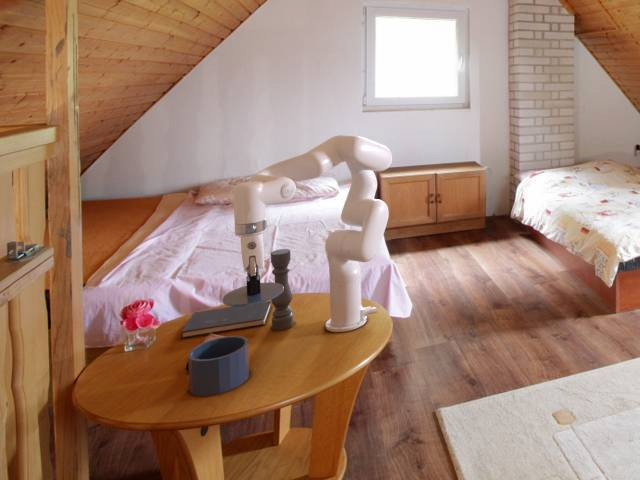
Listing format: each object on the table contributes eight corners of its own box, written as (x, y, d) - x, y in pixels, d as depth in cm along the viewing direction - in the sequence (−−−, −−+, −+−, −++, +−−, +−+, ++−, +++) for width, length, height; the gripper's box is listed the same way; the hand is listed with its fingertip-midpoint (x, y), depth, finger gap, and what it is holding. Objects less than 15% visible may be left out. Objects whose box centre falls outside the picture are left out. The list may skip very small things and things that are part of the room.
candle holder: (297, 323, 193) (295, 249, 192) (281, 331, 187) (279, 255, 186) (283, 320, 195) (281, 247, 194) (267, 329, 189) (265, 253, 188)
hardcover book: (264, 325, 191) (264, 318, 191) (181, 338, 182) (181, 331, 182) (271, 306, 206) (271, 300, 206) (194, 318, 197) (194, 311, 197)
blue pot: (248, 363, 167) (247, 331, 167) (249, 385, 156) (248, 351, 155) (191, 377, 160) (189, 344, 160) (188, 402, 148) (186, 366, 148)
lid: (282, 282, 170) (281, 261, 170) (285, 300, 158) (284, 278, 158) (223, 294, 163) (222, 272, 162) (221, 313, 150) (220, 290, 150)
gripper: (267, 232, 154) (270, 299, 155) (265, 217, 168) (268, 279, 169) (234, 237, 150) (237, 306, 151) (235, 222, 164) (238, 285, 165)
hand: (253, 291), depth 160 cm, fingers closed on lid, 2 cm apart
